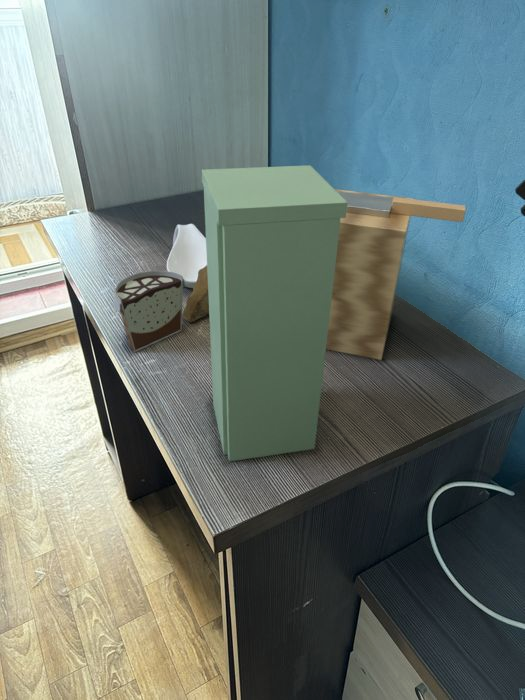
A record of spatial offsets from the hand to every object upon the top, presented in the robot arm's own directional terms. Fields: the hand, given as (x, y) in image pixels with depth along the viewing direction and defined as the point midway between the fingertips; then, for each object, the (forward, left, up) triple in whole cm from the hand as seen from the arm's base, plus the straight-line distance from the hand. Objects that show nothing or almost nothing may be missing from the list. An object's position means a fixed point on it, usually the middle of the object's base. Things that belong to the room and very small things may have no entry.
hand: (522, 194), depth 69 cm
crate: (+21, +7, -26) cm, 34 cm away
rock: (+43, +17, -26) cm, 53 cm away
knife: (+17, +6, -5) cm, 19 cm away
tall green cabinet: (+17, +34, -26) cm, 46 cm away
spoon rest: (+56, +7, -26) cm, 62 cm away
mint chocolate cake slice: (+45, +29, -26) cm, 59 cm away
